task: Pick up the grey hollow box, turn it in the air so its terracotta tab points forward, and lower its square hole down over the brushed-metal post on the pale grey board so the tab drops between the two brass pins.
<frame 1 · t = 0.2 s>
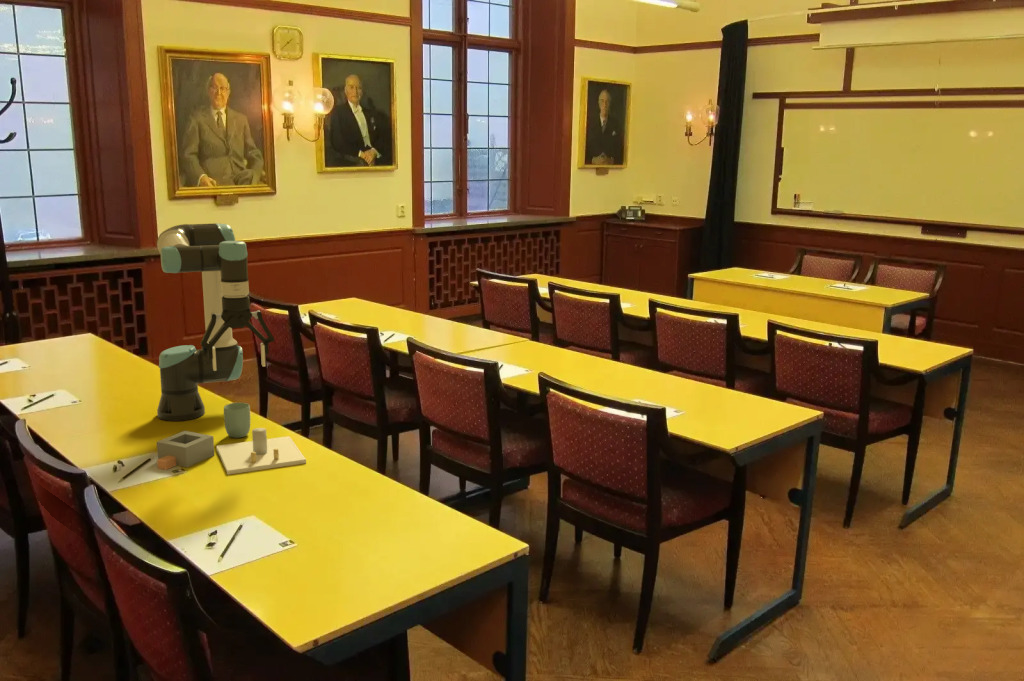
hand: (239, 367, 243), 27 cm above the table, fingers open, 13 cm apart
post block: (260, 456, 250), on the table
grey hollow box: (186, 458, 247), on the table
cup: (238, 436, 267), on the table
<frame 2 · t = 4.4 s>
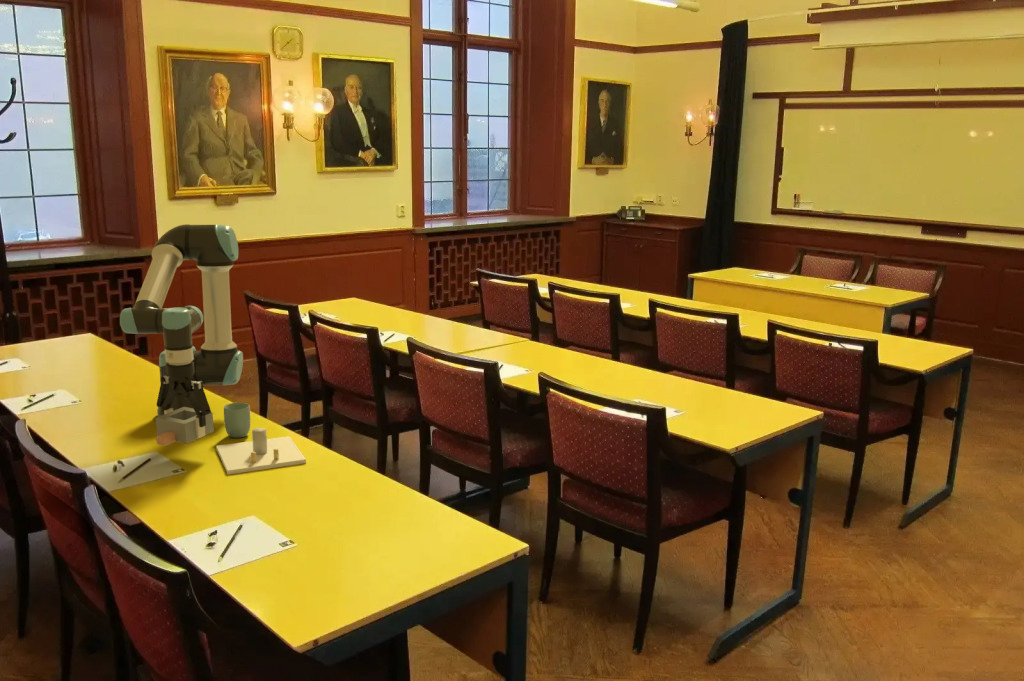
hand: (185, 433, 246), 7 cm above the table, fingers closed on grey hollow box, 11 cm apart
grey hollow box: (185, 434, 246), point 7 cm above the table, touching gripper
everything else where it was.
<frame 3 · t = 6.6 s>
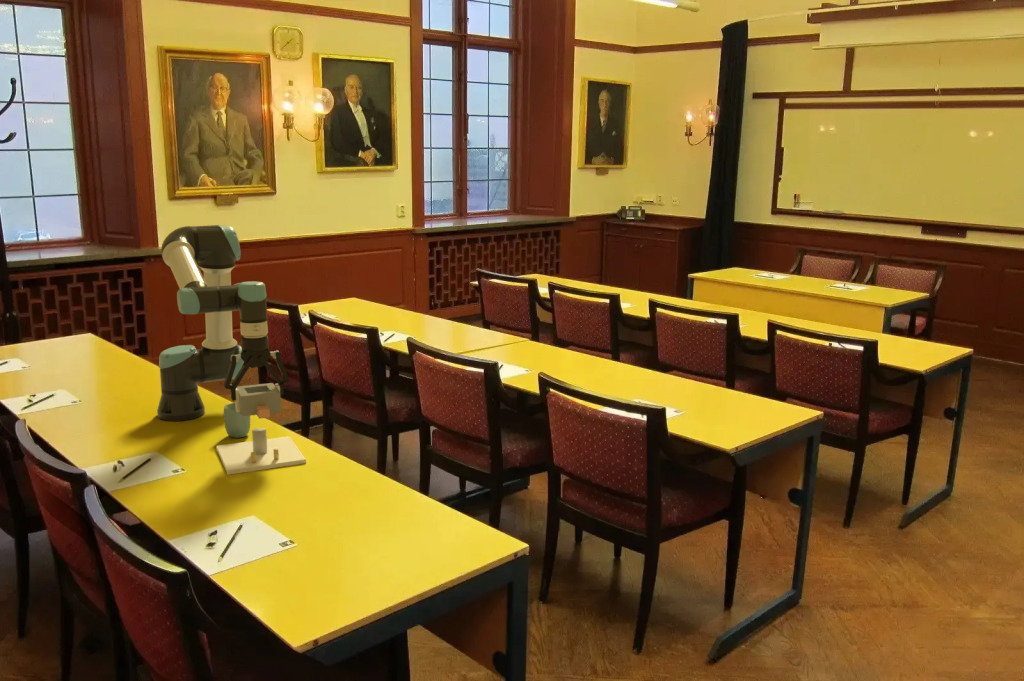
hand: (258, 408, 246), 15 cm above the table, fingers closed on grey hollow box, 11 cm apart
grey hollow box: (258, 409, 246), point 15 cm above the table, touching gripper
everything else where it was.
when the fingers open (2 cm above the table, at t = 9.1 s): grey hollow box stays where it is, resting on post block.
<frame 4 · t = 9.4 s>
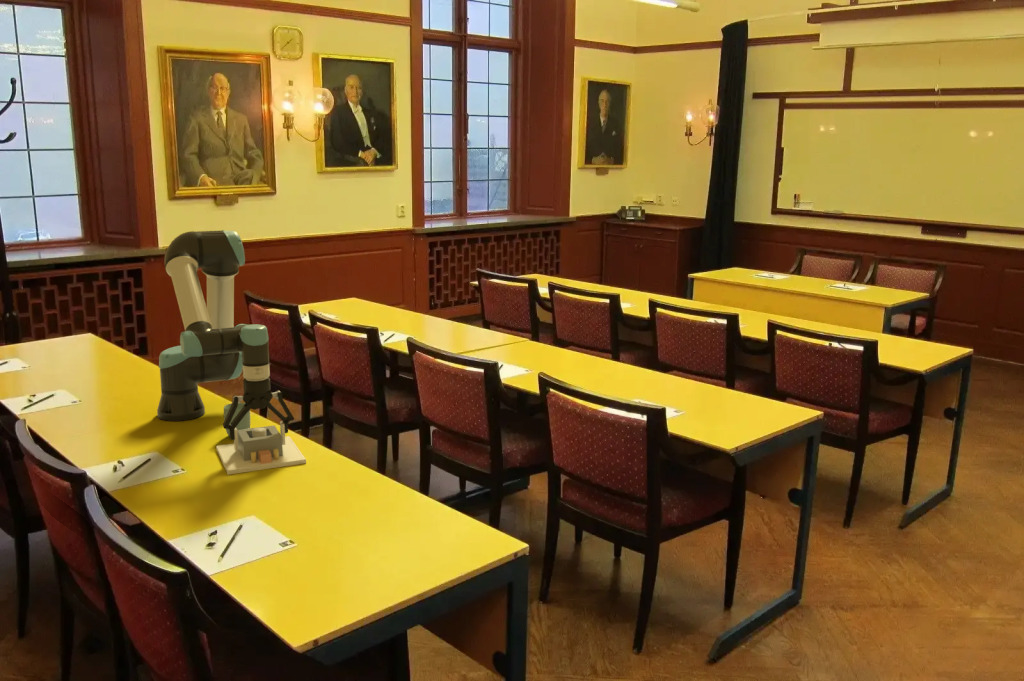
hand: (260, 446, 249), 3 cm above the table, fingers open, 13 cm apart
grey hollow box: (260, 452, 249), point 1 cm above the table, touching post block
everything else where it was.
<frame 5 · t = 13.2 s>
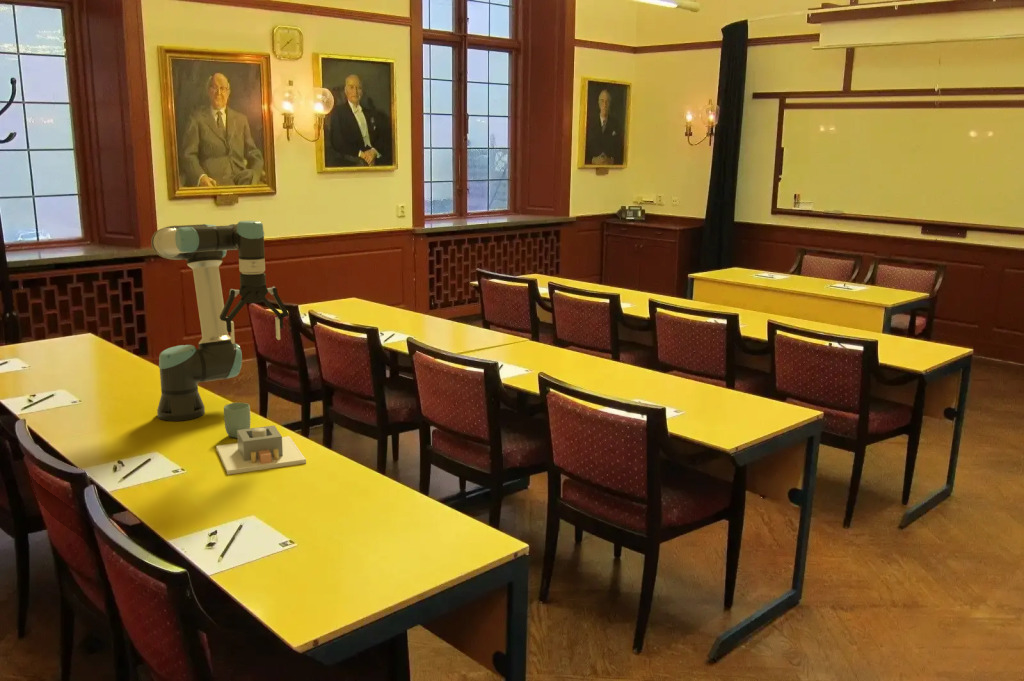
hand: (255, 340, 258), 32 cm above the table, fingers open, 13 cm apart
nothing on the table moved.
at the end: grey hollow box 0.1 cm from the post block (horizontally); grey hollow box point 1.2 cm above the table; grey hollow box tilted 0° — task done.
